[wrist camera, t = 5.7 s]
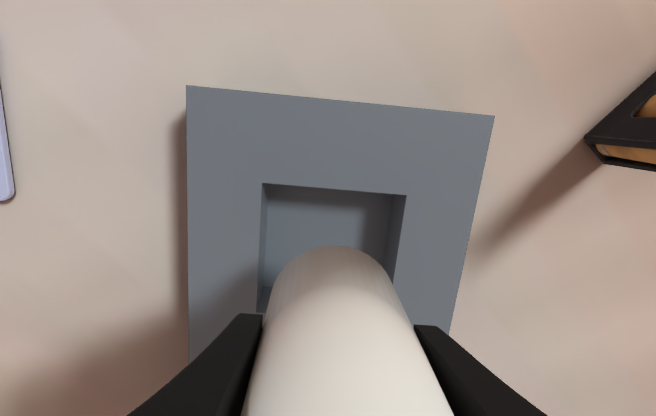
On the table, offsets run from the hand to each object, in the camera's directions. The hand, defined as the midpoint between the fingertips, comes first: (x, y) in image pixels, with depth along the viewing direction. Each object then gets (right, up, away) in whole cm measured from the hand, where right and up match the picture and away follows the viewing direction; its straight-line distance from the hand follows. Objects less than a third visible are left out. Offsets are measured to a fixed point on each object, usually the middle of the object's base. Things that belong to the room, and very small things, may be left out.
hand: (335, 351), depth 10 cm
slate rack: (-1, -2, +10) cm, 10 cm away
